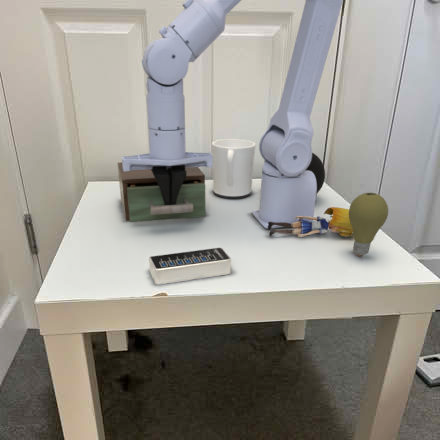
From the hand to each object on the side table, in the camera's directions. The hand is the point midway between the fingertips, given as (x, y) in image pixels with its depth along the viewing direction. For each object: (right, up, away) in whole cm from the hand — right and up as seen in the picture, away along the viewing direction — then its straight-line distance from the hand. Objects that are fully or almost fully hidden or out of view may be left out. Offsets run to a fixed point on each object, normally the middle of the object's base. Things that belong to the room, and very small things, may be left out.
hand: (169, 210), depth 77 cm
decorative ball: (+25, +5, +16) cm, 30 cm away
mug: (+11, +7, +18) cm, 22 cm away
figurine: (+24, -4, 0) cm, 25 cm away
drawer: (-1, 0, +5) cm, 5 cm away
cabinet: (-3, +2, +10) cm, 11 cm away
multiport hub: (+4, -11, -12) cm, 17 cm away
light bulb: (+30, -8, -6) cm, 32 cm away
